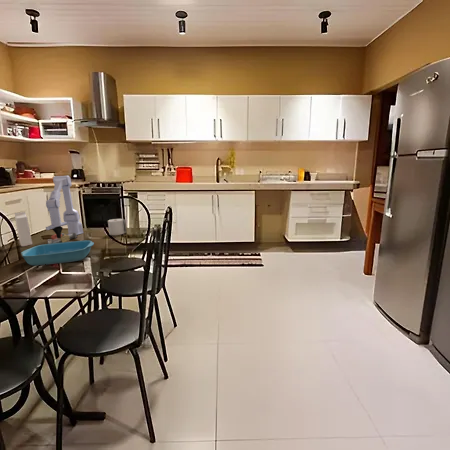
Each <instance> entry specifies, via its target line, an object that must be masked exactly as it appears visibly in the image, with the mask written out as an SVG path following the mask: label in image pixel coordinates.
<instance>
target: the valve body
mask: <svg viewBox="0 0 450 450" xmlns="http://www.w3.org/2000/svg"><path fill="white" fill-rule="evenodd" d="M77 238H78V235H76V233H73V232H71V234H70V235H66V234H64V236H61V238H57V239H55V240H52V238H48V239H47V244H53V243H63V242H71V241H70V240H72V239H77Z"/></svg>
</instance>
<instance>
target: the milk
mask: <svg viewBox="0 0 450 450" xmlns="http://www.w3.org/2000/svg"><path fill="white" fill-rule="evenodd" d="M14 220H15V221H14V222H15V225H16V230H17V234H18V235H17V236H18V239H19V245H20V246H21V247H27V246H32V245H33V240H32V235H31V230H30V225H29V220H28V216H27V213H26V211H21V212H15V213H14Z"/></svg>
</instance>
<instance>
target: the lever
mask: <svg viewBox="0 0 450 450" xmlns="http://www.w3.org/2000/svg"><path fill="white" fill-rule="evenodd" d="M64 235H65V233H63V232H61V236H64ZM51 239H52V240H55V239H57V235H56V233H54V234H52V235H51Z"/></svg>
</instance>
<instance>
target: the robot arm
mask: <svg viewBox="0 0 450 450" xmlns="http://www.w3.org/2000/svg"><path fill="white" fill-rule="evenodd" d="M52 181H53V182H52V183H53V184H54V187H53V190H52V191H51V192H50V195H49V198H48V199H47V200H46V201H45V207H46V208H47V212H48V213H49V219H50V223H51V224H50V225H47V226H45V231H50V230H52V231H53V232H54V234H56V235H57V238H61V233H62V230H63V229H64V227H65V226H67V232H68V233H67V234H65V235H70V234H71V232H73V233H76V235H77V236H78V235H81V234H84V230H83V229H84V228H83V224H82V222H81V221H80V220H81V217H80V214H79V211H78V210H77V209H74V204H73V198H72V192H71V187H72V186H73V185H72V178H71V176H70V175H54V176H53V177H52ZM61 191H62V193H61ZM61 195H63V200H64V205H65V211H64V212H63V213H62V214H63V221H62V219H61V213H60V207H61V206H60V205H61V204H60V203H61V201H60V199H61Z"/></svg>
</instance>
